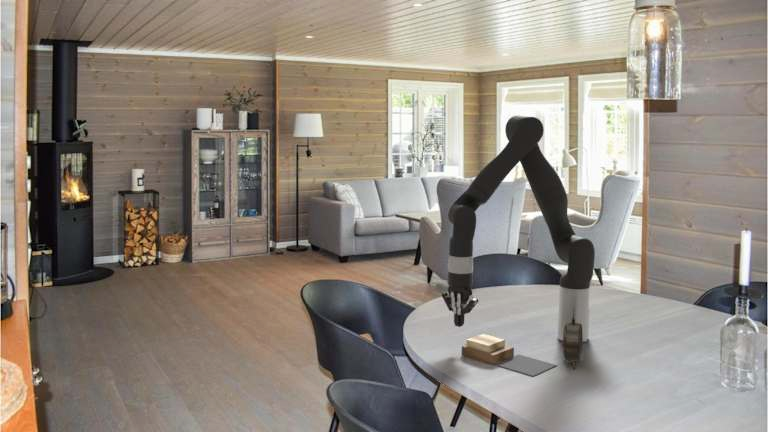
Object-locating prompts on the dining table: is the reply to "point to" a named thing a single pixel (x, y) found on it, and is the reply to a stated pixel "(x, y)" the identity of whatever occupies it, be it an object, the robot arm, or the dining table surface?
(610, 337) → the dining table surface
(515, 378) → the dining table surface
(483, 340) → the coaster
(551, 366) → the mat
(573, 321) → the alarm clock
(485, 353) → the board
